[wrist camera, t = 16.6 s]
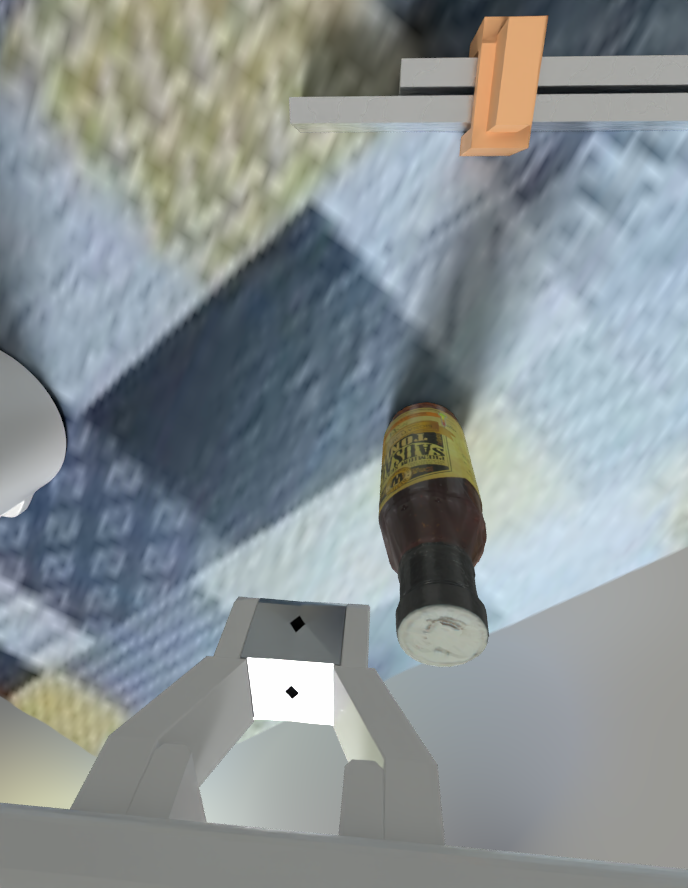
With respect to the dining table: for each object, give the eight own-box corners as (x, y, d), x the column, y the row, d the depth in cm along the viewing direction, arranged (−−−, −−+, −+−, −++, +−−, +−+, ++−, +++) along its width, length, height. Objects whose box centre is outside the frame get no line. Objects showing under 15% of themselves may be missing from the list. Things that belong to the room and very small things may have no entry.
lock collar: (459, 155, 29) (479, 142, 23) (470, 44, 27) (495, -4, 21) (509, 156, 29) (542, 141, 23) (524, 44, 27) (566, -6, 20)
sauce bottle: (429, 382, 36) (471, 550, 18) (477, 438, 38) (558, 641, 20) (364, 432, 38) (346, 625, 21) (412, 483, 40) (434, 701, 23)
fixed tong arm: (300, 132, 30) (290, 123, 26) (299, 109, 29) (289, 97, 26) (703, 130, 28) (744, 120, 25) (710, 105, 27) (753, 92, 24)
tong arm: (398, 100, 28) (400, 86, 25) (399, 75, 28) (401, 58, 25) (713, 98, 27) (756, 83, 24) (721, 72, 27) (765, 54, 24)
